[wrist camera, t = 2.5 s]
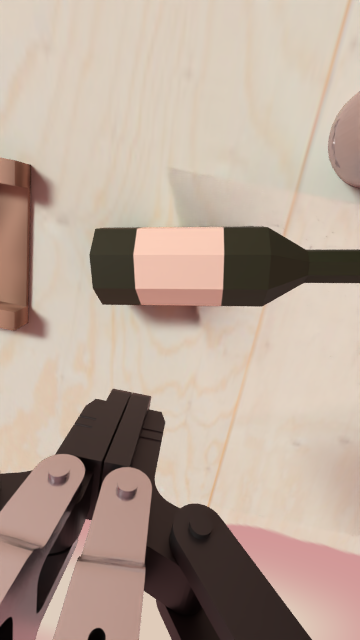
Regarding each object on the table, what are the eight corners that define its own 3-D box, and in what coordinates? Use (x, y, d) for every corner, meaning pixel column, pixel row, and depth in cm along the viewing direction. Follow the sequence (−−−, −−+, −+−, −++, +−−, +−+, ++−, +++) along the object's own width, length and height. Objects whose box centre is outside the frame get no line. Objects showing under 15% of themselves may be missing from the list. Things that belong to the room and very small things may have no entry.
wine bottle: (113, 308, 37) (376, 311, 34) (87, 299, 28) (431, 302, 26) (116, 240, 37) (374, 239, 35) (91, 211, 29) (427, 207, 27)
